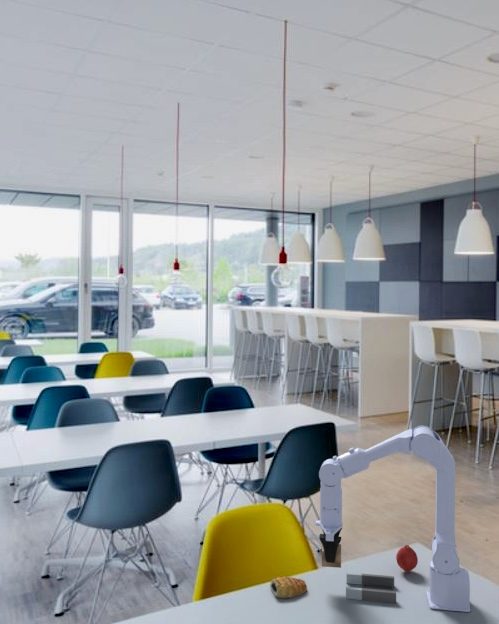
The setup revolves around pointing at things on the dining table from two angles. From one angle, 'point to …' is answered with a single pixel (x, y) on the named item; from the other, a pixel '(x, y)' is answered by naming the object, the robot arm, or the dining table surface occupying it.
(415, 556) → the pomegranate
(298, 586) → the pastry
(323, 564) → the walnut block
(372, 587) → the grey i-beam block
